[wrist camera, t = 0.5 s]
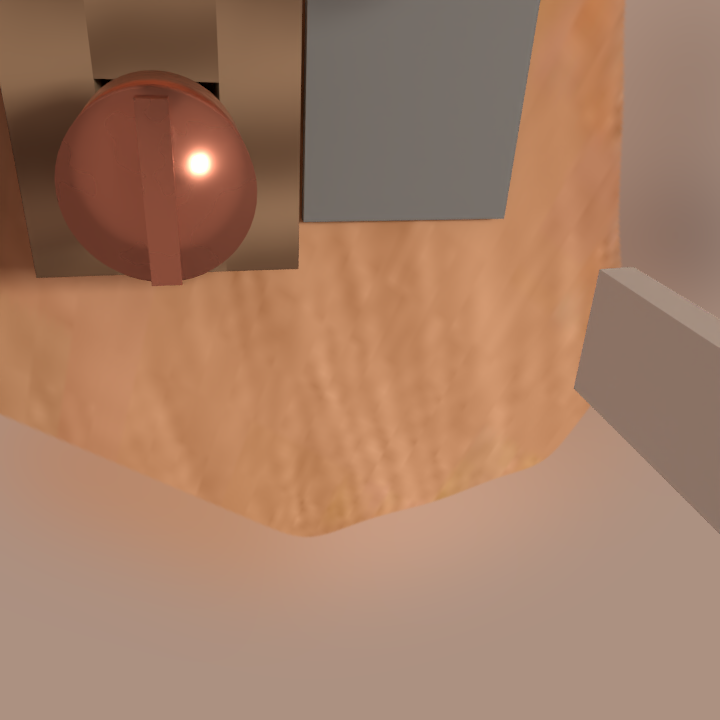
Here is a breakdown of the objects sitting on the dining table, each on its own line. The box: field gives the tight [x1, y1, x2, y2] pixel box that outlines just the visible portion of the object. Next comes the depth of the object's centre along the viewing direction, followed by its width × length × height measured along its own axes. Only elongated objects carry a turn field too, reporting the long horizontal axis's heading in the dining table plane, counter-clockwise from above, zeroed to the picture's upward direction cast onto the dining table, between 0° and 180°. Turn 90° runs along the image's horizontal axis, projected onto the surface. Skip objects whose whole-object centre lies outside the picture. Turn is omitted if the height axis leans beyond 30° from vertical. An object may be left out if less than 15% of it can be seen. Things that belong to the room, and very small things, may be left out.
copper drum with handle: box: [55, 70, 257, 286], centre depth 27 cm, size 6×6×14 cm
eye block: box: [0, 0, 302, 278], centre depth 31 cm, size 12×12×5 cm
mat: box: [302, 0, 540, 222], centre depth 35 cm, size 12×12×1 cm
